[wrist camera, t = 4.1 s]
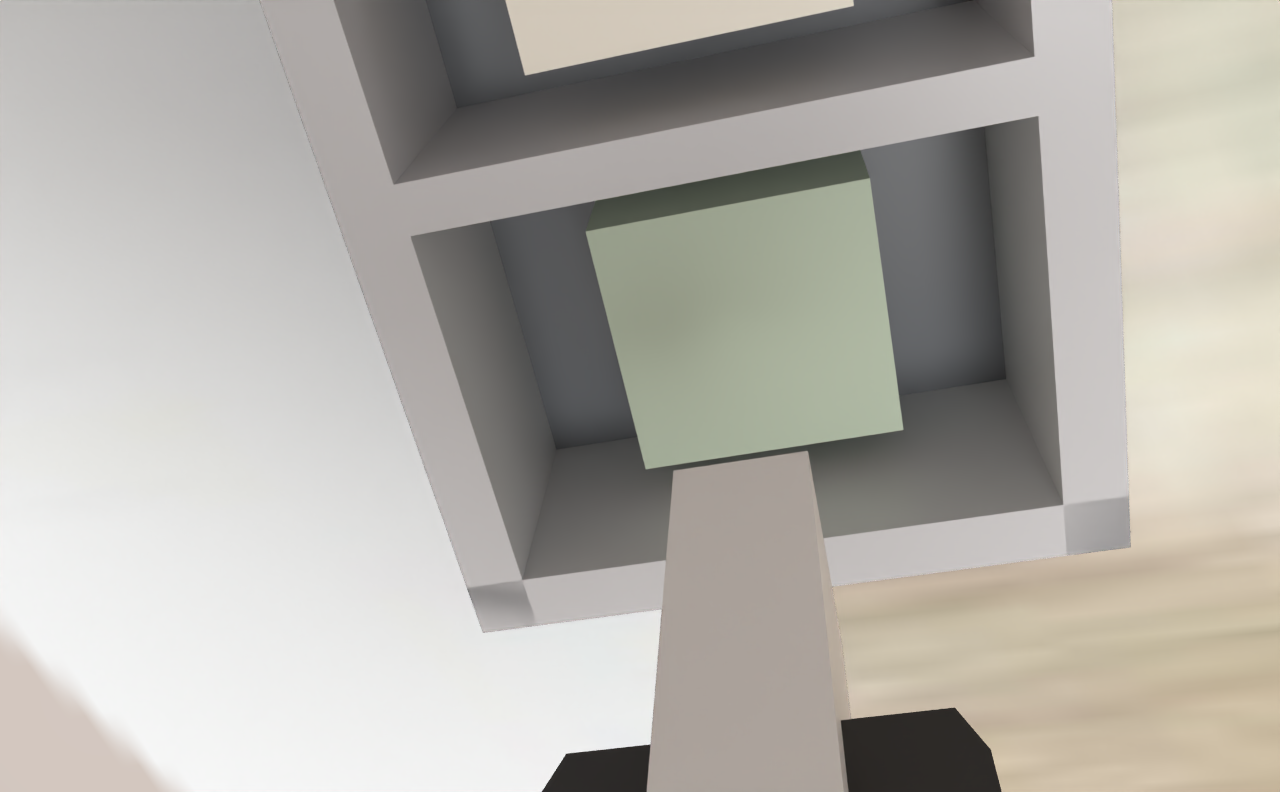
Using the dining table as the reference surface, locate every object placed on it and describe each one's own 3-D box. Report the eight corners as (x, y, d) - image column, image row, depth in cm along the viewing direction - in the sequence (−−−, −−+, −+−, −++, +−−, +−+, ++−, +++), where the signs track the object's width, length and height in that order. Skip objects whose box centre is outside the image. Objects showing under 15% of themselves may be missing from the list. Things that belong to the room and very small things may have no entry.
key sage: (598, 189, 21) (585, 231, 19) (856, 139, 20) (869, 177, 18) (653, 410, 23) (646, 469, 21) (888, 372, 22) (903, 429, 20)
